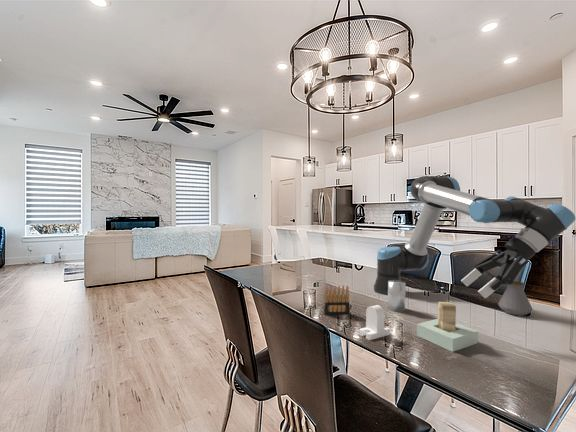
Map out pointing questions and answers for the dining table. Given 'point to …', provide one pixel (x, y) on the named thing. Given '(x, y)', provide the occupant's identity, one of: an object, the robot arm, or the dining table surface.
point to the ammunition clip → (336, 301)
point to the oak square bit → (447, 316)
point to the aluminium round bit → (396, 295)
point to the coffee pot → (514, 299)
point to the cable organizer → (374, 323)
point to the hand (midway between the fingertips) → (472, 288)
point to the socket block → (447, 335)
